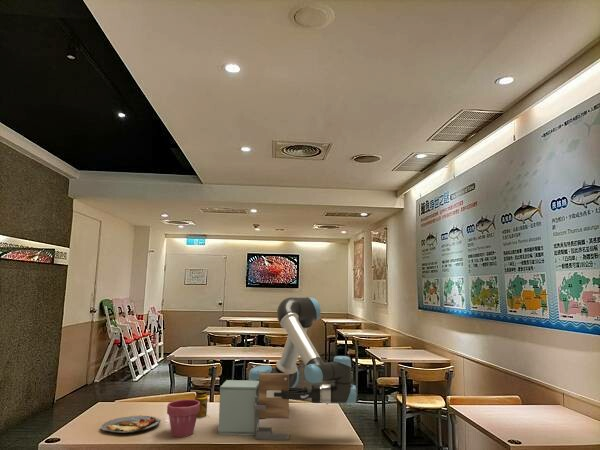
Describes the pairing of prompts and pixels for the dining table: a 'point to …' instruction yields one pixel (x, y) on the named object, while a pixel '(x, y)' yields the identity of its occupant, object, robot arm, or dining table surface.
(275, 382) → the door
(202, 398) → the condiment
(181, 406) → the plant pot
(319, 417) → the dining table surface
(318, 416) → the dining table surface
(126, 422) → the food plate
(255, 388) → the cabinet
